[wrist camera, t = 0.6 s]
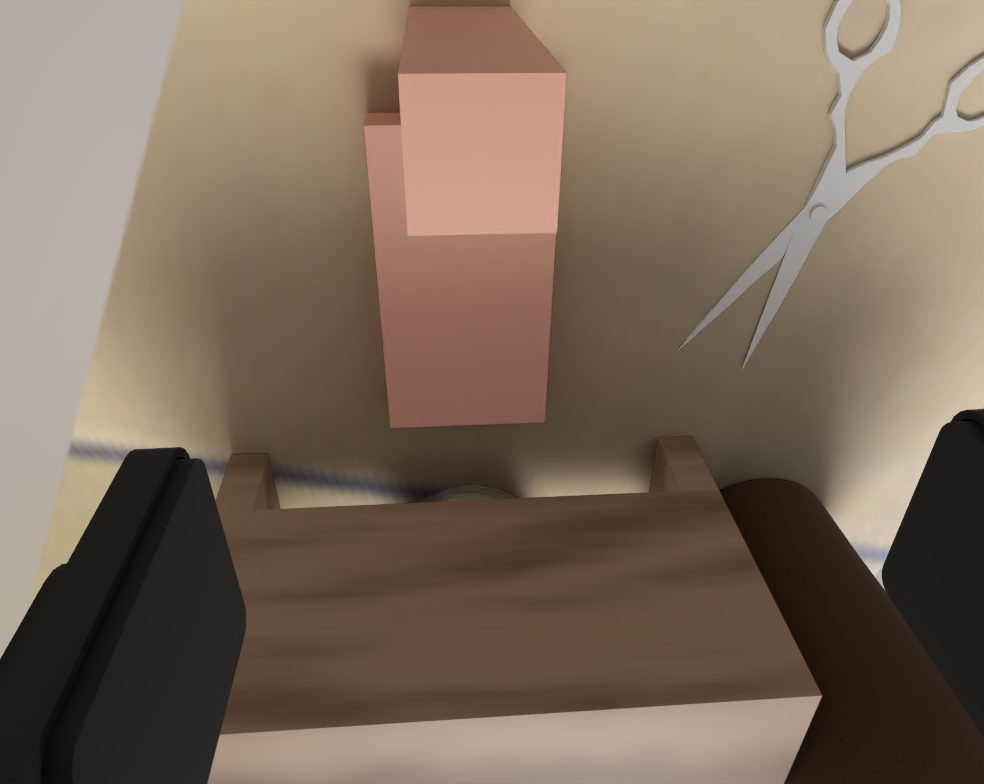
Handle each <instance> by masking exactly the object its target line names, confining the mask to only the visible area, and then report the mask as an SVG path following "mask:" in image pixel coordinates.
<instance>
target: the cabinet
mask: <svg viewBox="0 0 984 784" xmlns="http://www.w3.org/2000/svg"><path fill="white" fill-rule="evenodd" d="M215 502H216V505H217V509H218V512H219V516H220V519H221V523H222V526H223V530H224V533H225V537H226V540H227V544H228V547H229V551H230V554H231V558H232V561H233V565H234V568H235V572H236V575H237V579H238V582H239V586H240V589H241V593H242V596H243V600H244V603H245V608H246V631H245V636H244V640H243V644H242V648H241V652H240V656H239V660H238V664H237V668H236V672H235V676H234V680H233V684H232V688H231V692H230V696H229V700H228V704H227V708H226V712H225V716H224V720H223V724H222V728H221V732H220V736H219V740H218V743H217V747H216V751H215V755H214V759H213V763H212V767H211V771H210V775H209V779H208V783H207V784H784V782H785V780H786V778H787V776H788V773H789V771H790V769H791V766H792V764H793V762H794V759H795V757H796V755H797V753H798V750H799V748H800V746H801V743H802V741H803V739H804V736H805V734H806V732H807V730H808V727H809V725H810V723H811V720H812V718H813V716H814V713H815V711H816V709H817V707H818V704H819V702H820V700H821V697H822V694H821V692H820V690H819V688H818V686H817V684H816V682H815V680H814V678H813V676H812V674H811V672H810V670H809V668H808V666H807V664H806V662H805V660H804V658H803V656H802V654H801V652H800V650H799V648H798V646H797V644H796V642H795V640H794V638H793V636H792V634H791V632H790V630H789V628H788V626H787V624H786V622H785V620H784V618H783V616H782V614H781V612H780V610H779V608H778V606H777V605H776V603H775V601H774V599H773V597H772V595H771V593H770V591H769V589H768V587H767V585H766V583H765V581H764V579H763V577H762V575H761V573H760V571H759V569H758V567H757V565H756V563H755V561H754V559H753V557H752V555H751V553H750V551H749V549H748V547H747V545H746V543H745V541H744V539H743V537H742V535H741V533H740V531H739V529H738V527H737V525H736V523H735V521H734V519H733V517H732V515H731V513H730V511H729V509H728V507H727V505H726V503H725V501H724V499H723V497H722V495H721V493H720V491H719V489H718V487H717V485H716V483H715V481H714V479H713V477H712V475H711V473H710V471H709V469H708V467H707V465H706V463H705V461H704V459H703V457H702V455H701V453H700V451H699V449H698V447H697V445H696V443H695V441H694V439H693V437H692V436H686V437H661V438H658V441H657V447H656V452H655V458H654V464H653V470H652V476H651V482H650V488H649V492H648V493H626V494H603V495H581V496H559V497H537V498H514V499H492V500H470V501H448V502H426V503H403V504H381V505H359V506H337V507H314V508H292V509H280V505H279V500H278V495H277V491H276V486H275V481H274V476H273V471H272V467H271V462H270V457H269V453H260V454H235V455H232V456H231V459H230V461H229V464H228V467H227V470H226V473H225V475H224V478H223V481H222V484H221V487H220V489H219V492H218V495H217V498H216V501H215Z"/></svg>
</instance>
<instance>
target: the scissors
mask: <svg viewBox="0 0 984 784" xmlns="http://www.w3.org/2000/svg"><path fill="white" fill-rule="evenodd" d="M852 2H853V0H835V1H834V3H833V5H832V7H831V9H830V12H829V14H828V16H827V18H826V20H825V23H824V25H823V27H822V39H823V50H824V53H825V56H826V59H827V61H828V63H829V64H830V66H831V67H832V68H833V69H834V71H835V72H836V79H837V89H838V95H837V97H836V99H835V101H834V102H833V104H832V106H831V108H830V109H829V111H828V113H827V114H828V117H829V119H830V121H831V124H832V126H833V147H832V149H831V151H830V153H829V155H828V157H827V159H826V161H825V163H824V165H823V167H822V169H821V171H820V174H819V176H818V178H817V180H816V182H815V184H814V186H813V189H812V191H811V193H810V195H809V197H808V199H807V202H806V204H805V206H804V208H803V209H802V210H801V211H800V212H799V213H798V214H797V215H796V216H795V217H794V218H793V220H792V221H791V222H790V223H789V224H788V225H787V226H786V227H785V228H784V229H783V230H782V231H781V232H780V233H779V234H778V235H777V237H776V238H775V239H774V240H773V241H772V242H771V243H770V244H769V245H768V246H767V247H766V248H765V249H764V250H763V251H762V252H761V254H760V255H759V256H758V257H757V258H756V259H755V260H754V261H753V262H752V264H751V265H750V266H749V267H748V268H747V269H746V270H745V271H744V273H743V274H742V275H741V276H740V277H739V278H738V279H737V280H736V282H735V283H734V284H733V285H732V286H731V288H730V289H729V290H728V291H727V292H726V293H725V295H724V296H723V297H722V298H721V299H720V300H719V302H718V303H717V304H716V305H715V306H714V307H713V308H712V309H711V311H710V312H709V313H708V314H707V315H706V316H705V317H704V319H703V320H702V321H701V322H700V323H699V324H698V325H697V326H696V328H695V329H694V330H693V331H692V332H691V334H690V335H689V336H688V338H687V339H686V340H685V342H684V343H683V344H682V345H681V347H680V348H679V349H678V351H679V350H680V349H681V348H682V347H683V346H684V345H685V344H687V343H688V342H689V341H690V340H691V339H692V338H693V337H694V336H696V335H697V334H698V333H699V332H700V331H701V330H702V329H703V328H705V327H706V326H707V325H708V324H709V323H710V322H711V321H712V320H714V319H715V318H716V317H717V316H718V315H719V314H720V313H721V312H723V311H724V310H725V309H726V308H727V307H728V306H729V305H730V304H731V303H733V302H734V301H735V300H736V299H737V298H738V297H739V296H740V295H741V294H742V293H743V292H744V291H745V290H746V289H748V288H749V287H750V286H751V285H752V284H753V283H754V282H755V281H756V280H758V279H759V278H760V277H761V276H762V275H763V274H765V273H766V272H767V271H768V270H769V269H770V268H772V267H773V266H774V265H775V264H776V263H777V262H778V261H779V260H780V259H781V258H782V257H783V256H784V255H785V257H784V259H783V262H782V264H781V267H780V269H779V272H778V274H777V277H776V279H775V282H774V285H773V287H772V290H771V292H770V295H769V297H768V300H767V303H766V305H765V308H764V311H763V313H762V316H761V319H760V321H759V324H758V327H757V329H756V332H755V335H754V337H753V340H752V343H751V345H750V348H749V351H748V354H747V356H746V359H745V362H744V364H743V367H742V370H743V368H744V366H745V364H746V363H747V361H748V359H749V358H750V356H751V354H752V353H753V351H754V349H755V347H756V346H757V344H758V342H759V341H760V339H761V337H762V336H763V334H764V332H765V330H766V329H767V327H768V325H769V324H770V322H771V320H772V319H773V317H774V315H775V313H776V312H777V310H778V308H779V307H780V305H781V303H782V301H783V300H784V298H785V296H786V294H787V293H788V291H789V289H790V287H791V286H792V284H793V282H794V280H795V279H796V277H797V275H798V273H799V271H800V269H801V268H802V266H803V264H804V262H805V260H806V258H807V256H808V255H809V253H810V251H811V249H812V247H813V245H814V244H815V242H816V240H817V238H818V236H819V234H820V233H821V231H822V229H823V227H824V225H825V223H826V222H827V220H828V219H829V218H831V217H832V216H833V215H834V214H836V213H837V212H838V211H839V210H840V209H841V208H842V207H843V206H844V205H845V204H846V203H847V202H848V201H849V200H850V199H851V198H852V197H853V196H854V195H855V194H856V193H857V192H858V191H859V190H860V189H861V188H862V187H863V186H864V185H865V184H866V183H867V182H868V181H870V180H871V179H872V178H873V177H874V176H875V175H876V174H878V173H879V172H880V171H881V170H882V169H883V168H884V167H885V166H886V165H888V164H890V163H892V162H894V161H896V160H898V159H903V158H910V157H913V156H914V155H915V154H916V153H917V152H918V151H919V150H920V149H921V148H922V147H923V146H924V144H925V143H926V142H927V141H928V140H929V139H930V138H931V137H932V136H933V135H938V134H943V133H950V132H967V131H971V130H974V129H976V128H979V127H981V126H983V125H984V115H982V116H980V117H978V118H975V119H972V120H967V121H966V120H964V119H962V118H959V117H958V115H957V112H956V108H957V105H958V101H959V98H960V95H961V92H962V91H963V90H964V89H965V88H966V87H967V86H968V85H969V84H970V82H971V81H972V80H973V79H974V78H975V77H976V76H977V75H978V74H979V73H980V72H981V71H982V70H984V55H983V56H981V57H980V58H978V59H977V60H975V61H974V62H972V63H970V64H969V65H967V66H966V67H965V68H964V69H963V70H961V71H960V72H959V73H958V74H957V75H956V76H955V77H954V78H953V79H952V80H951V81H950V82H948V85H947V89H946V93H945V98H944V102H943V106H942V110H941V114H940V116H939V117H937V118H936V119H934V120H932V121H931V122H930V124H929V125H928V126H927V127H926V128H925V129H924V131H923V132H922V133H921V134H920V135H919V136H918V137H917V138H915V139H914V140H912V141H910V142H908V143H907V144H905V145H903V146H901V147H899V148H897V149H895V150H893V151H891V152H889V153H887V154H884V155H882V156H880V157H877V158H874V159H871V160H867V161H864V162H862V163H860V164H857V165H855V166H853V167H851V168H849V169H847V170H846V153H845V129H844V123H845V111H846V106H847V102H848V97H849V95H850V93H851V92H852V90H853V88H854V86H855V85H856V83H857V81H858V79H859V78H860V76H861V74H862V73H863V71H864V70H865V69H866V68H867V67H868V66H869V65H871V64H872V63H873V62H875V61H876V60H878V59H879V58H881V57H882V56H884V55H885V54H887V53H888V52H890V51H891V50H892V48H893V45H894V42H895V40H896V37H897V34H898V31H899V27H900V15H901V6H900V0H885V2H886V4H887V9H886V19H885V23H884V26H883V28H882V30H881V32H880V34H879V36H878V37H877V39H876V41H875V42H874V43H873V44H872V46H871V47H870V48H869V50H868V51H867V52H865V53H863V54H861V55H859V56H857V57H855V58H853V59H851V60H850V59H849V58H847V57H846V56H844V55H843V54H841V53H840V52H839V50H838V43H837V32H838V27H839V24H840V21H841V19H842V17H843V15H844V14H845V12H846V10H847V8H848V7H849V5H850V4H851V3H852ZM678 351H677V352H678ZM742 370H741V371H742ZM740 373H741V372H740Z"/></svg>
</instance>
